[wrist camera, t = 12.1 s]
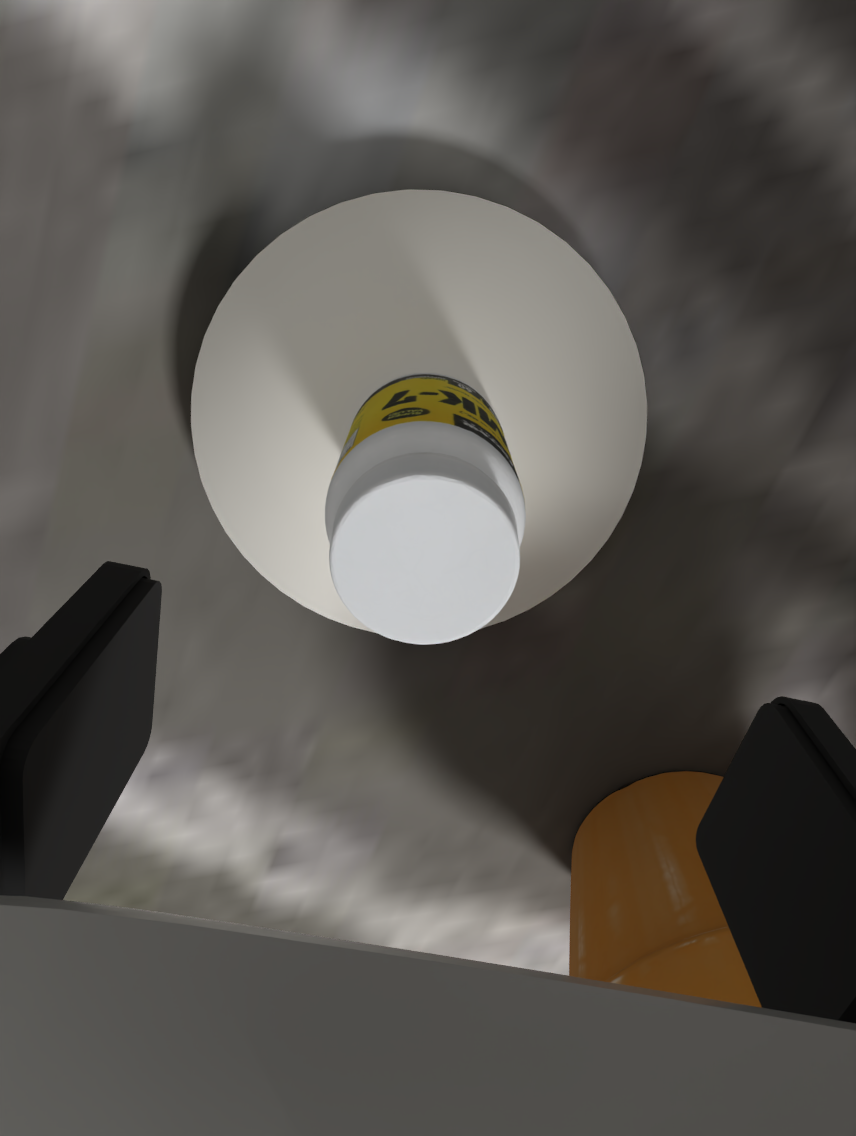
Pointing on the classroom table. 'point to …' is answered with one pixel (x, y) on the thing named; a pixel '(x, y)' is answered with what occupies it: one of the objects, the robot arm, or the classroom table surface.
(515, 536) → the supplement bottle
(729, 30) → the classroom table surface
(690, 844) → the flower pot
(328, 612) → the dish
